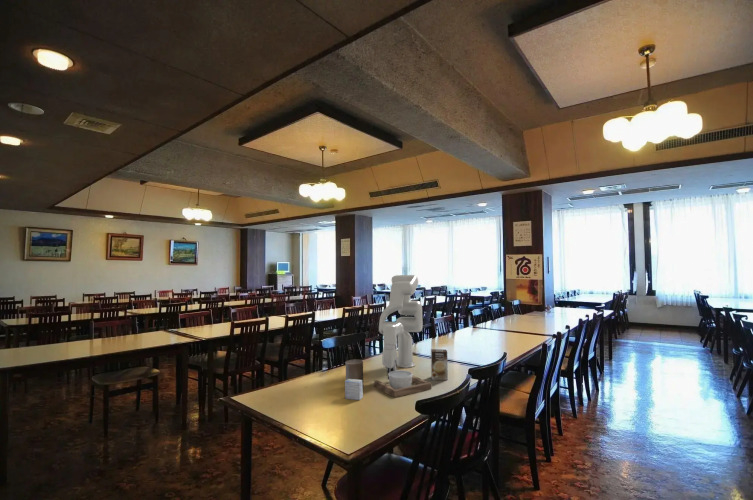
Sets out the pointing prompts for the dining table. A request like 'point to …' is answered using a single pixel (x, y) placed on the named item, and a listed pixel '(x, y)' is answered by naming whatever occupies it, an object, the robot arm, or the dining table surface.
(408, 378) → the ramekin
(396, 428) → the dining table surface
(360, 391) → the medicine box
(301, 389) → the dining table surface
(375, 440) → the dining table surface
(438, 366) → the coffee box
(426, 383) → the display stand
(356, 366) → the pillar candle
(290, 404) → the dining table surface
